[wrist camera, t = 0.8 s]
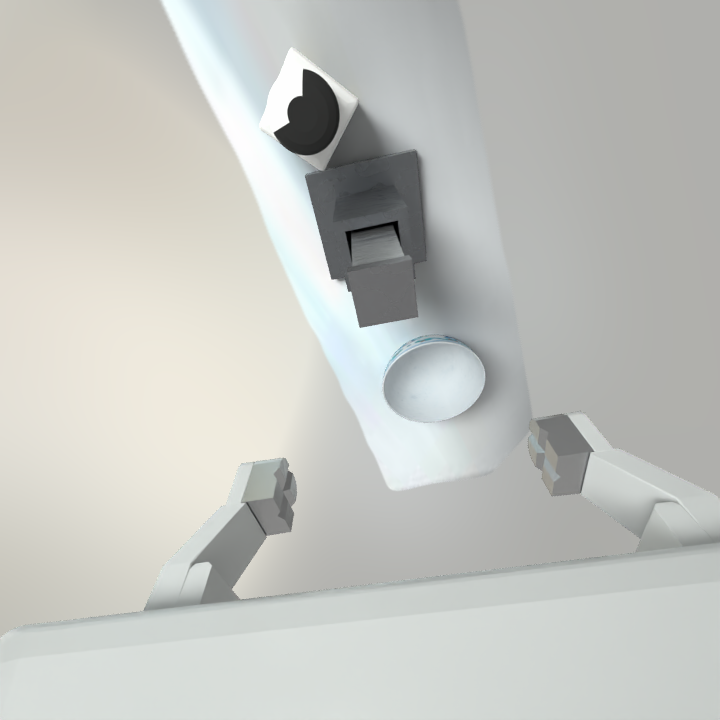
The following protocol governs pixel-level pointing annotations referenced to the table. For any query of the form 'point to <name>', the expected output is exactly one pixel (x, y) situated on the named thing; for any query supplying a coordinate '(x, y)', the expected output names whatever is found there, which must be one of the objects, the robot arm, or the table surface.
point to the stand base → (368, 206)
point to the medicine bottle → (307, 110)
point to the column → (381, 277)
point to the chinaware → (433, 379)
